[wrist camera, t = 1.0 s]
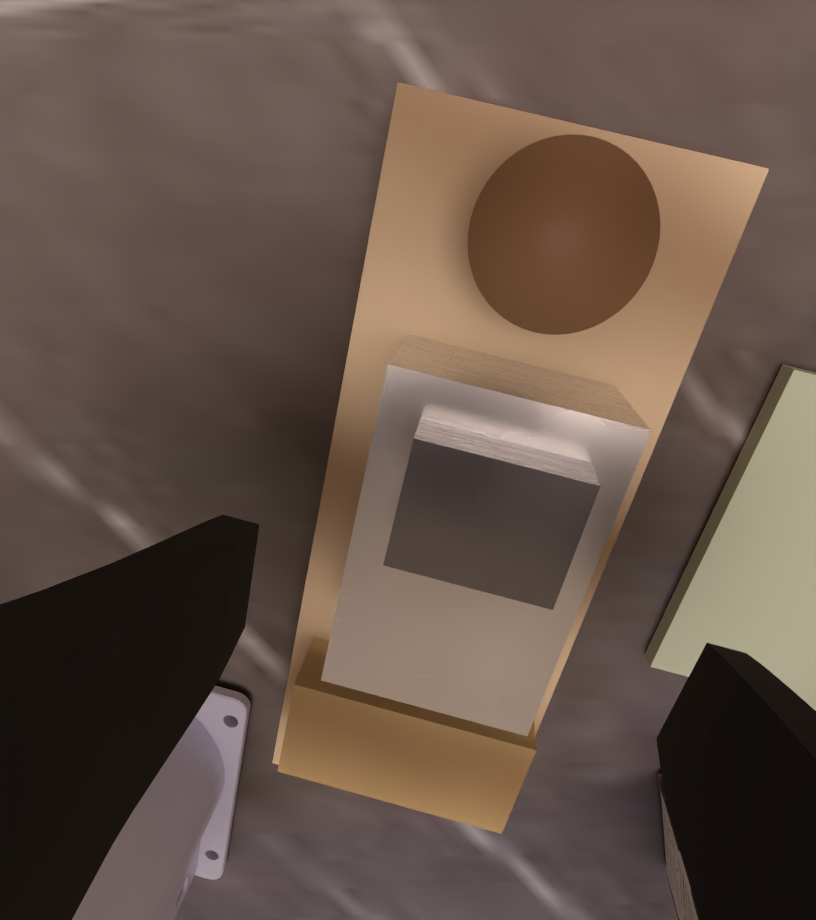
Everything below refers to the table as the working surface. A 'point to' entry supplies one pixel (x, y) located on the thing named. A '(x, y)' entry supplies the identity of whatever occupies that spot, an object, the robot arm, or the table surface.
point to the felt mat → (757, 552)
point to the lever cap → (478, 530)
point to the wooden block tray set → (512, 337)
